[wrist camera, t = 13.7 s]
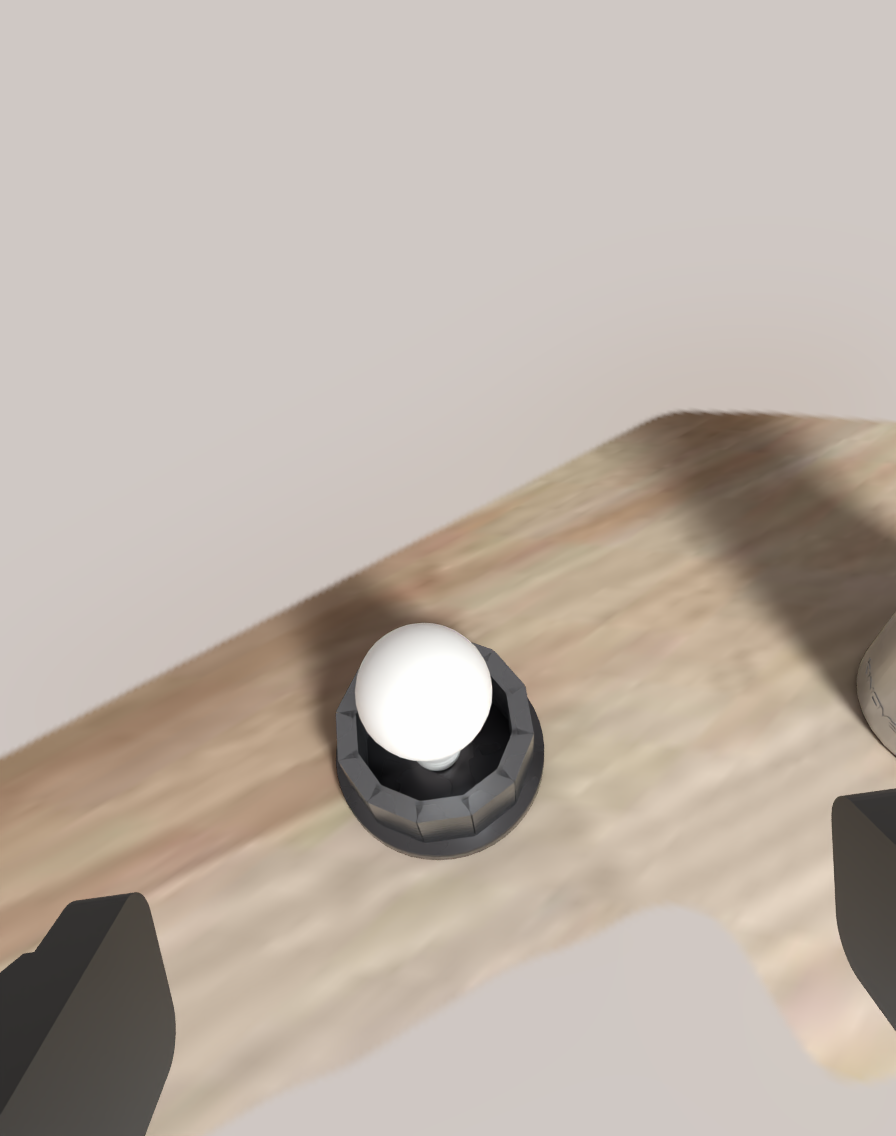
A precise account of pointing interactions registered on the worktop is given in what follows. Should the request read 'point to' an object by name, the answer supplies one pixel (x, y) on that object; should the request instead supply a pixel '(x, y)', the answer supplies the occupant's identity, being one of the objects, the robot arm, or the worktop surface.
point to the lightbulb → (424, 693)
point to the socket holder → (446, 777)
